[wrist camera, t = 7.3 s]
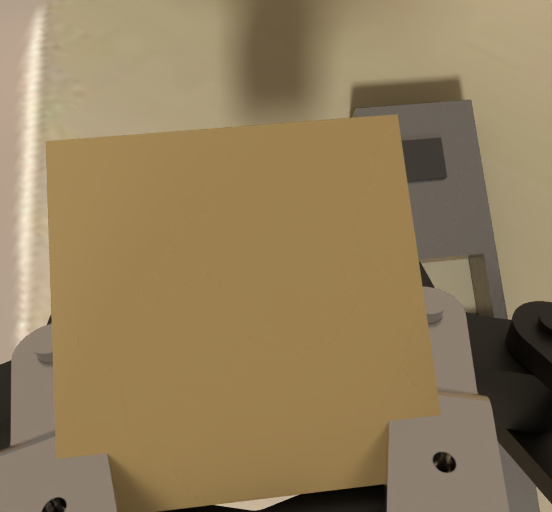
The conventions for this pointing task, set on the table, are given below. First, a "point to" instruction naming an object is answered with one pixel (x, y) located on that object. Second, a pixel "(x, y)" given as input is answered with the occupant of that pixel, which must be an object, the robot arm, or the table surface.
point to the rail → (455, 220)
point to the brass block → (236, 308)
